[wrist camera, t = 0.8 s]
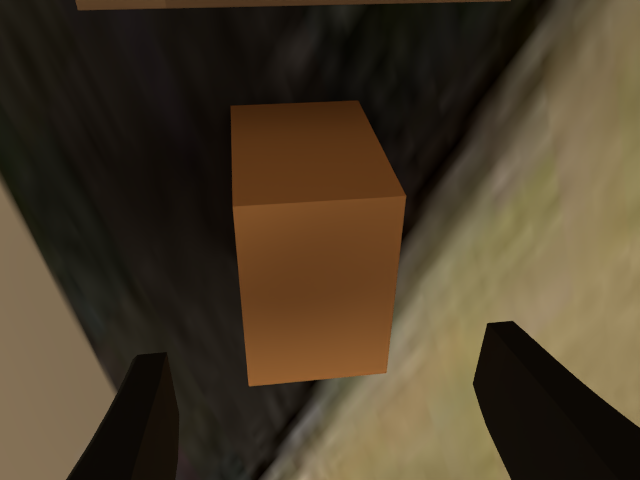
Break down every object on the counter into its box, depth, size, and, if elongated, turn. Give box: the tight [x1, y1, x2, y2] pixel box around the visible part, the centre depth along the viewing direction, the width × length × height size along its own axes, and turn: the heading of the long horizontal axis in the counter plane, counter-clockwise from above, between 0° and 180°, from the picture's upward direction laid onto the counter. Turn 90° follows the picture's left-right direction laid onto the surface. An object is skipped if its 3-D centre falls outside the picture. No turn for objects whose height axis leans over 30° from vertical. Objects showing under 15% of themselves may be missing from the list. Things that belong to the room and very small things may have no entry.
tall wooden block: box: [231, 101, 406, 386], centre depth 17 cm, size 6×4×6 cm, turn 179°
